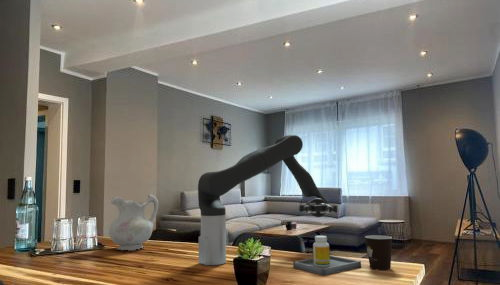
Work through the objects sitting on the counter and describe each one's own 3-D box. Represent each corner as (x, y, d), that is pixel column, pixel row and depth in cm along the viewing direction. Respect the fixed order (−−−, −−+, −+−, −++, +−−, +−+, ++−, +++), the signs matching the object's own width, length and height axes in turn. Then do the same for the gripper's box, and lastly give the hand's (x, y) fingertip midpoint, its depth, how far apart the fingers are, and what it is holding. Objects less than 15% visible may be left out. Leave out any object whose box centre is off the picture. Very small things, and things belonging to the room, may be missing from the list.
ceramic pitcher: (147, 245, 180) (146, 195, 184) (165, 247, 165) (163, 192, 169) (103, 251, 166) (103, 197, 170) (118, 253, 151) (117, 194, 156)
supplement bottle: (310, 264, 122) (309, 235, 123) (324, 263, 124) (323, 234, 125) (319, 268, 117) (317, 237, 118) (333, 266, 119) (331, 236, 120)
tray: (323, 275, 111) (323, 269, 111) (293, 267, 122) (293, 261, 122) (361, 266, 121) (360, 261, 121) (329, 260, 132) (329, 255, 132)
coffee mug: (396, 271, 114) (394, 239, 115) (368, 270, 115) (366, 238, 117) (389, 263, 125) (388, 234, 126) (364, 262, 127) (362, 234, 128)
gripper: (300, 198, 150) (299, 198, 135) (335, 198, 148) (337, 199, 132) (300, 216, 149) (299, 219, 134) (335, 216, 147) (338, 219, 131)
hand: (318, 209), depth 133 cm, fingers open, 8 cm apart
